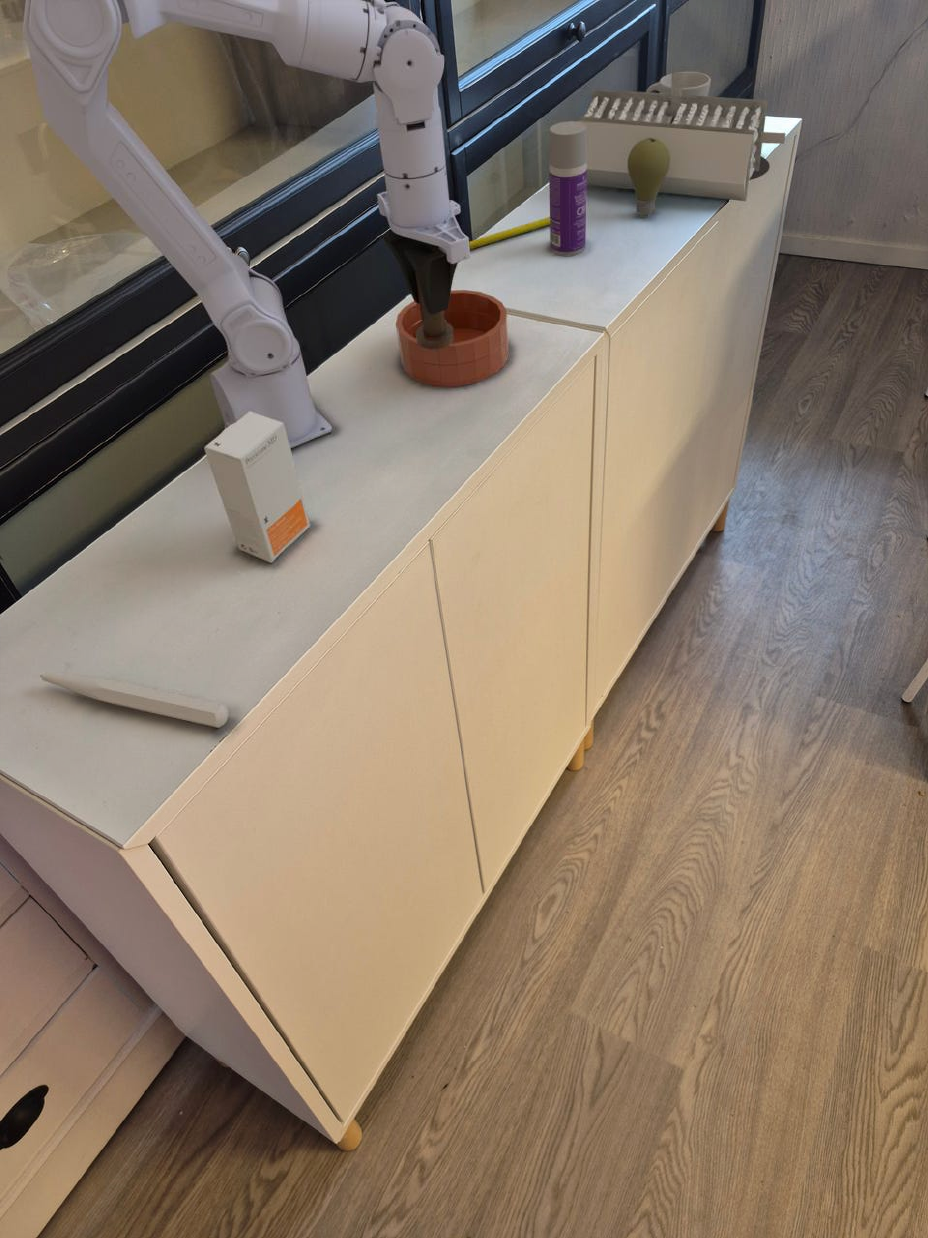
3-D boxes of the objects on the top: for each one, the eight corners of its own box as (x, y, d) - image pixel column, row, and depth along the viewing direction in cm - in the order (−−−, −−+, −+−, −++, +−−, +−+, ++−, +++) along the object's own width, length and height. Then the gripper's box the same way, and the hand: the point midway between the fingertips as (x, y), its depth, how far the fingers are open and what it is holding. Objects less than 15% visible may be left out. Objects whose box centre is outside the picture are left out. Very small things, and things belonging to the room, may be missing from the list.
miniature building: (779, 172, 127) (762, 219, 124) (595, 154, 136) (573, 198, 132) (793, 79, 116) (774, 129, 112) (590, 67, 125) (566, 112, 121)
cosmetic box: (272, 565, 83) (238, 460, 74) (238, 550, 85) (200, 446, 76) (313, 525, 86) (285, 421, 77) (279, 512, 88) (248, 409, 79)
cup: (698, 150, 139) (704, 89, 132) (635, 146, 142) (638, 86, 136) (709, 132, 143) (716, 72, 137) (647, 128, 146) (651, 69, 140)
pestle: (428, 353, 93) (418, 280, 87) (410, 338, 96) (399, 265, 90) (461, 340, 94) (454, 267, 88) (442, 325, 97) (434, 253, 91)
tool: (46, 661, 75) (46, 684, 75) (31, 666, 73) (31, 689, 74) (232, 702, 71) (231, 726, 71) (221, 708, 69) (219, 732, 69)
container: (583, 256, 119) (585, 134, 108) (548, 255, 120) (546, 135, 109) (587, 240, 122) (589, 120, 111) (552, 239, 123) (551, 120, 112)
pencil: (565, 221, 127) (561, 215, 127) (566, 216, 126) (563, 210, 126) (460, 254, 122) (457, 248, 123) (461, 249, 122) (458, 243, 122)
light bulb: (672, 210, 126) (678, 134, 118) (655, 227, 123) (661, 149, 115) (635, 204, 128) (639, 128, 121) (618, 220, 125) (621, 144, 118)
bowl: (436, 399, 99) (431, 359, 95) (383, 352, 106) (376, 313, 103) (529, 360, 103) (528, 320, 99) (471, 318, 110) (468, 279, 106)
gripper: (494, 177, 79) (502, 319, 89) (414, 133, 88) (430, 267, 98) (424, 200, 77) (441, 344, 87) (350, 153, 86) (372, 287, 96)
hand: (431, 304), depth 92 cm, fingers closed on pestle, 2 cm apart
